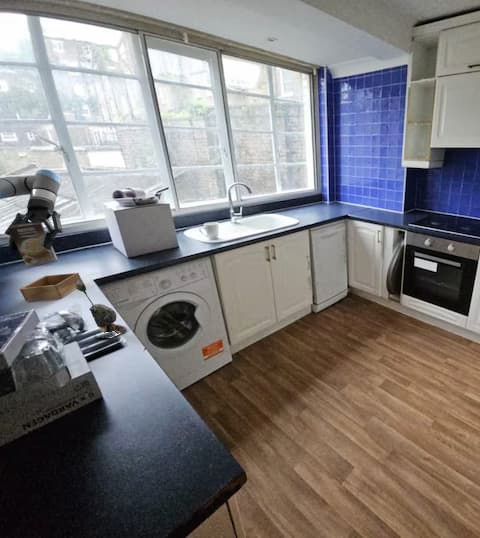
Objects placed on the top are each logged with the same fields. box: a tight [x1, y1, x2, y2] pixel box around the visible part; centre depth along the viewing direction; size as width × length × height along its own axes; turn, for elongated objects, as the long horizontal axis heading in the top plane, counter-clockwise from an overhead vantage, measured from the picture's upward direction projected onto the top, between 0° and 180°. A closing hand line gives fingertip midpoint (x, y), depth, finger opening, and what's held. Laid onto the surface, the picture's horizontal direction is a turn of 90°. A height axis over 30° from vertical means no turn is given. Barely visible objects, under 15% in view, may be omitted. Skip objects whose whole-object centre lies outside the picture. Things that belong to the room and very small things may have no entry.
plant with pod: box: [76, 278, 128, 335], centre depth 92 cm, size 8×11×20 cm
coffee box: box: [7, 222, 58, 268], centre depth 118 cm, size 9×6×16 cm
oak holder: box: [19, 272, 82, 303], centre depth 125 cm, size 13×14×6 cm
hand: (29, 249), depth 116 cm, fingers closed on coffee box, 11 cm apart
